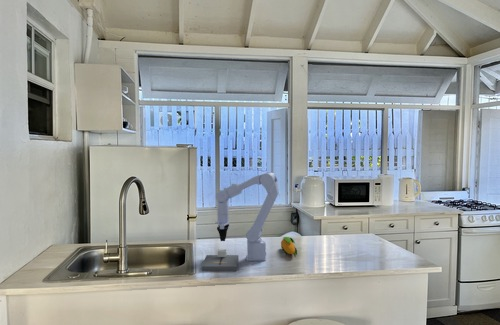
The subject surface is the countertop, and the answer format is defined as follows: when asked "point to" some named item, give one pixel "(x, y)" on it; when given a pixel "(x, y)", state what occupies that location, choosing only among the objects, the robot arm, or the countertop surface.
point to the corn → (288, 246)
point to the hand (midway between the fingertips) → (223, 239)
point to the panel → (220, 263)
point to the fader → (221, 252)
